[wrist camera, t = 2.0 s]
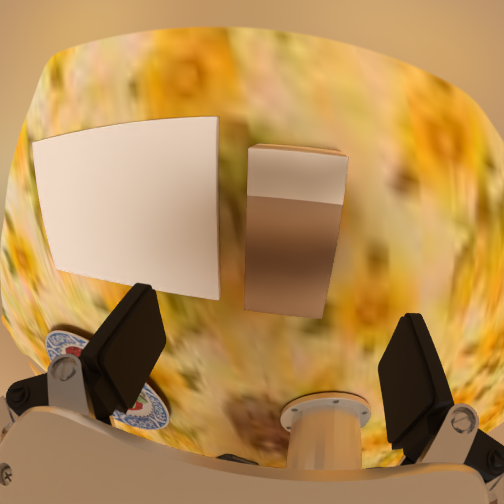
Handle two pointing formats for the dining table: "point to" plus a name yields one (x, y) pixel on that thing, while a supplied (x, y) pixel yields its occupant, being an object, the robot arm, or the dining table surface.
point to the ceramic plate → (141, 415)
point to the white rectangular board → (135, 203)
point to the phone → (236, 459)
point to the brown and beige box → (292, 227)
